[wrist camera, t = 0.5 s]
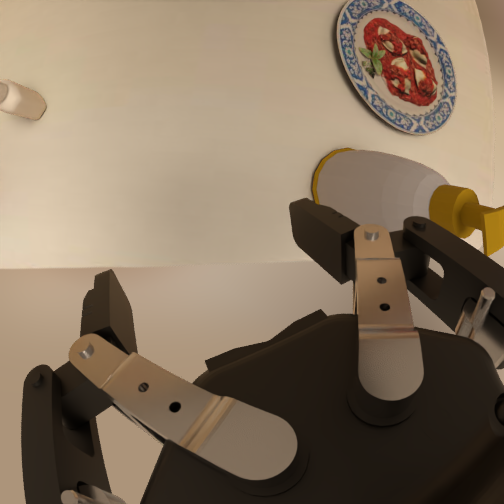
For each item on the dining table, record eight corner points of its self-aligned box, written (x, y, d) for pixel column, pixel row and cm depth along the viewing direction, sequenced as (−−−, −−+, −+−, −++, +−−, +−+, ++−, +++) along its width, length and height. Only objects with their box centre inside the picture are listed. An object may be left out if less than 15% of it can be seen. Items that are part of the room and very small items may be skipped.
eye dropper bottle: (24, 129, 28) (-26, 122, 17) (16, 96, 27) (-32, 80, 15) (49, 113, 29) (3, 97, 18) (40, 80, 27) (-4, 56, 16)
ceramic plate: (438, 24, 36) (448, 20, 33) (452, 144, 43) (464, 145, 40) (323, -20, 31) (331, -28, 28) (335, 124, 38) (346, 122, 35)
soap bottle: (387, 205, 43) (535, 251, 18) (327, 239, 42) (471, 324, 17) (363, 136, 39) (525, 132, 14) (297, 166, 38) (457, 180, 14)
